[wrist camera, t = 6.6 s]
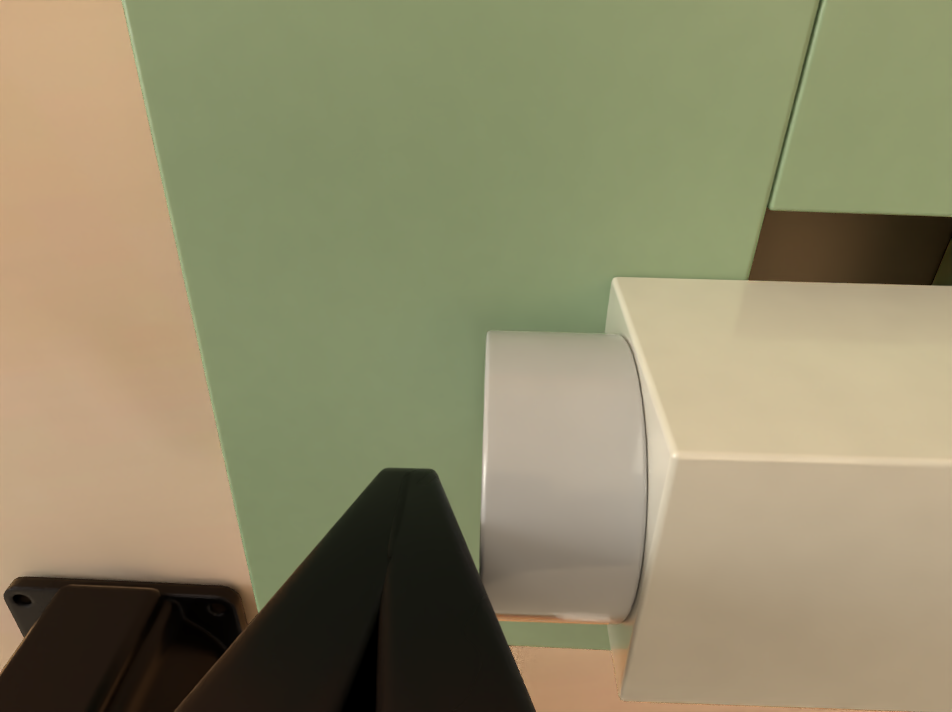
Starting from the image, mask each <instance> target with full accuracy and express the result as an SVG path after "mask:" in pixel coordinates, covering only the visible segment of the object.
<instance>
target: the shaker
mask: <svg viewBox="0 0 952 712" xmlns="http://www.w3.org/2000/svg"><path fill="white" fill-rule="evenodd" d="M479 575H480V578H481V580H482V582H483V585H484V587H485V590H486V592H487V594H488V597H489V599H490V602H491V604H492V607H493V609H494V611H495V614H496V616H497V619H498V621H506V622H535V623H564V624H593V625H607V629H608V635H609V641H610V648H611V654H612V660H613V666H614V673H615V679H616V685H617V691H618V696H619V698H620V700H621V701H624V702H647V703H675V704H702V705H730V706H758V707H786V708H814V709H842V710H869V711H897V712H952V286H936V285H899V284H863V283H826V282H789V281H753V280H716V279H679V278H643V277H614V278H613V280H612V281H611V288H610V296H609V303H608V310H607V318H606V325H605V332H574V331H539V330H504V329H490V330H487V332H486V343H485V377H484V412H483V446H482V481H481V515H480V550H479Z"/></svg>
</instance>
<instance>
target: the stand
mask: <svg viewBox="0 0 952 712" xmlns="http://www.w3.org/2000/svg"><path fill="white" fill-rule="evenodd" d="M122 5H123V9H124V14H125V18H126V23H127V27H128V31H129V36H130V40H131V45H132V49H133V54H134V58H135V63H136V67H137V72H138V76H139V81H140V85H141V90H142V94H143V99H144V103H145V108H146V112H147V117H148V121H149V126H150V130H151V135H152V139H153V144H154V148H155V153H156V157H157V161H158V166H159V170H160V175H161V179H162V184H163V188H164V193H165V197H166V202H167V206H168V211H169V215H170V220H171V224H172V229H173V233H174V238H175V242H176V247H177V251H178V256H179V260H180V265H181V269H182V274H183V278H184V283H185V287H186V291H187V296H188V300H189V305H190V309H191V314H192V318H193V323H194V327H195V332H196V336H197V341H198V345H199V350H200V354H201V359H202V363H203V368H204V372H205V377H206V381H207V386H208V390H209V395H210V399H211V404H212V408H213V413H214V417H215V421H216V426H217V430H218V435H219V439H220V444H221V448H222V453H223V457H224V462H225V466H226V471H227V475H228V480H229V484H230V489H231V493H232V498H233V502H234V507H235V511H236V516H237V520H238V525H239V529H240V534H241V538H242V543H243V547H244V551H245V556H246V560H247V565H248V569H249V574H250V578H251V583H252V587H253V592H254V596H255V601H256V605H257V610H258V613H259V612H260V611H261V609H262V608H263V607H264V606H265V605H266V604H267V602H268V601H269V600H270V599H271V598H272V597H273V595H274V594H275V593H276V592H277V591H278V590H279V588H280V587H281V586H282V585H283V584H284V583H285V581H286V580H287V579H288V578H289V577H290V576H291V574H292V573H293V572H294V571H295V570H296V569H297V568H298V566H299V565H300V564H301V563H302V562H303V561H304V559H305V558H306V557H307V556H308V555H309V554H310V552H311V551H312V550H313V549H314V548H315V547H316V545H317V544H318V543H319V542H320V541H321V540H322V538H323V537H324V536H325V535H326V534H327V533H328V531H329V530H330V529H331V528H332V527H333V526H334V524H335V523H336V522H337V521H338V520H339V519H340V517H341V516H342V515H343V514H344V513H345V512H346V510H347V509H348V508H349V507H350V506H351V505H352V503H353V502H354V501H355V500H356V499H357V498H358V496H359V495H360V494H361V493H362V492H363V491H364V489H365V488H366V487H367V486H368V485H369V484H370V482H371V481H372V480H373V479H374V478H375V477H376V476H377V474H378V473H379V472H380V471H381V470H382V469H384V468H388V467H392V468H427V469H433V470H435V471H436V472H437V474H438V476H439V479H440V481H441V483H442V486H443V488H444V491H445V493H446V495H447V498H448V500H449V503H450V505H451V508H452V510H453V512H454V515H455V517H456V520H457V522H458V524H459V527H460V529H461V532H462V534H463V537H464V539H465V541H466V544H467V546H468V549H469V551H470V553H471V556H472V558H473V561H474V563H475V566H476V568H477V570H478V573H479V550H480V515H481V481H482V446H483V412H484V377H485V343H486V332H487V330H490V329H504V330H539V331H574V332H605V325H606V318H607V310H608V303H609V296H610V288H611V281H612V280H613V278H614V277H643V278H679V279H716V280H748V278H749V274H750V271H751V267H752V263H753V259H754V255H755V251H756V247H757V243H758V239H759V235H760V231H761V228H762V224H763V220H764V216H765V212H766V208H768V209H770V210H772V211H796V212H825V213H854V214H883V215H912V216H941V217H952V0H122ZM932 285H936V286H952V237H951V240H950V242H949V245H948V247H947V249H946V252H945V254H944V257H943V259H942V261H941V264H940V266H939V269H938V271H937V273H936V276H935V278H934V281H933V283H932ZM499 623H500V626H501V628H502V631H503V633H504V636H505V638H506V640H507V643H508V645H509V646H529V647H550V648H571V649H592V650H611V648H610V641H609V635H608V629H607V625H593V624H564V623H535V622H506V621H499Z"/></svg>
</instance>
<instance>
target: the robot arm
mask: <svg viewBox="0 0 952 712" xmlns="http://www.w3.org/2000/svg"><path fill="white" fill-rule="evenodd" d="M4 600H5V602H6V604H7V606H8V607H9V609H10V611H11V613H12V615H13V617H14V619H15V621H16V623H17V625H18V627H19V629H20V631H21V633H22V635H23V637H24V639H23V640H22V642H21V643H20V645H19V646H18V648H17V649H16V651H15V652H14V653H13V655H12V656H11V658H10V659H9V661H8V662H7V664H6V665H5V666H4V668H3V669H2V671H1V672H0V712H536V710H535V708H534V706H533V703H532V701H531V698H530V696H529V694H528V691H527V689H526V686H525V684H524V681H523V679H522V677H521V674H520V672H519V669H518V667H517V665H516V662H515V660H514V657H513V655H512V652H511V650H510V648H509V645H508V643H507V640H506V638H505V636H504V633H503V631H502V628H501V626H500V623H499V621H498V619H497V616H496V614H495V611H494V609H493V607H492V604H491V602H490V599H489V597H488V594H487V592H486V590H485V587H484V585H483V582H482V580H481V578H480V575H479V573H478V570H477V568H476V566H475V563H474V561H473V558H472V556H471V553H470V551H469V549H468V546H467V544H466V541H465V539H464V537H463V534H462V532H461V529H460V527H459V524H458V522H457V520H456V517H455V515H454V512H453V510H452V508H451V505H450V503H449V500H448V498H447V495H446V493H445V491H444V488H443V486H442V483H441V481H440V479H439V476H438V474H437V472H436V471H435V470H433V469H427V468H392V467H388V468H384V469H382V470H381V471H380V472H379V473H378V474H377V476H376V477H375V478H374V479H373V480H372V481H371V482H370V484H369V485H368V486H367V487H366V488H365V489H364V491H363V492H362V493H361V494H360V495H359V496H358V498H357V499H356V500H355V501H354V502H353V503H352V505H351V506H350V507H349V508H348V509H347V510H346V512H345V513H344V514H343V515H342V516H341V517H340V519H339V520H338V521H337V522H336V523H335V524H334V526H333V527H332V528H331V529H330V530H329V531H328V533H327V534H326V535H325V536H324V537H323V538H322V540H321V541H320V542H319V543H318V544H317V545H316V547H315V548H314V549H313V550H312V551H311V552H310V554H309V555H308V556H307V557H306V558H305V559H304V561H303V562H302V563H301V564H300V565H299V566H298V568H297V569H296V570H295V571H294V572H293V573H292V574H291V576H290V577H289V578H288V579H287V580H286V581H285V583H284V584H283V585H282V586H281V587H280V588H279V590H278V591H277V592H276V593H275V594H274V595H273V597H272V598H271V599H270V600H269V601H268V602H267V604H266V605H265V606H264V607H263V608H262V609H261V611H260V612H259V613H258V614H257V615H256V616H255V618H254V619H253V620H252V621H251V622H250V623H249V625H247V621H246V617H245V613H244V608H243V604H242V600H241V597H240V595H239V594H238V593H237V592H236V591H235V590H233V589H231V588H229V587H225V586H218V585H196V584H175V583H153V582H131V581H110V580H88V579H67V578H45V577H18V578H16V579H14V581H13V582H12V583H11V584H10V586H9V587H8V588H7V590H6V591H5V593H4Z"/></svg>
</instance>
